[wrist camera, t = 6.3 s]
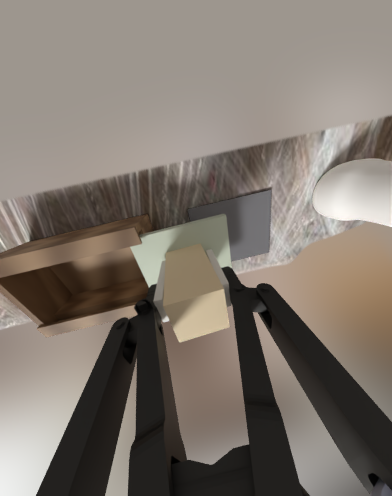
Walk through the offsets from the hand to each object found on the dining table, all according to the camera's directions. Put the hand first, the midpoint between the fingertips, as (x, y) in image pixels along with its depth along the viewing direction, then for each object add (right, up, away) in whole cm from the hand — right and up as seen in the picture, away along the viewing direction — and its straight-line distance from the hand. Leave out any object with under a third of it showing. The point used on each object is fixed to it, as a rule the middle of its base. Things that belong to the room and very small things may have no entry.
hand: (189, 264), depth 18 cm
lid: (-1, +1, +2) cm, 2 cm away
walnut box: (-14, 0, +6) cm, 15 cm away
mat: (+7, +5, +6) cm, 10 cm away
